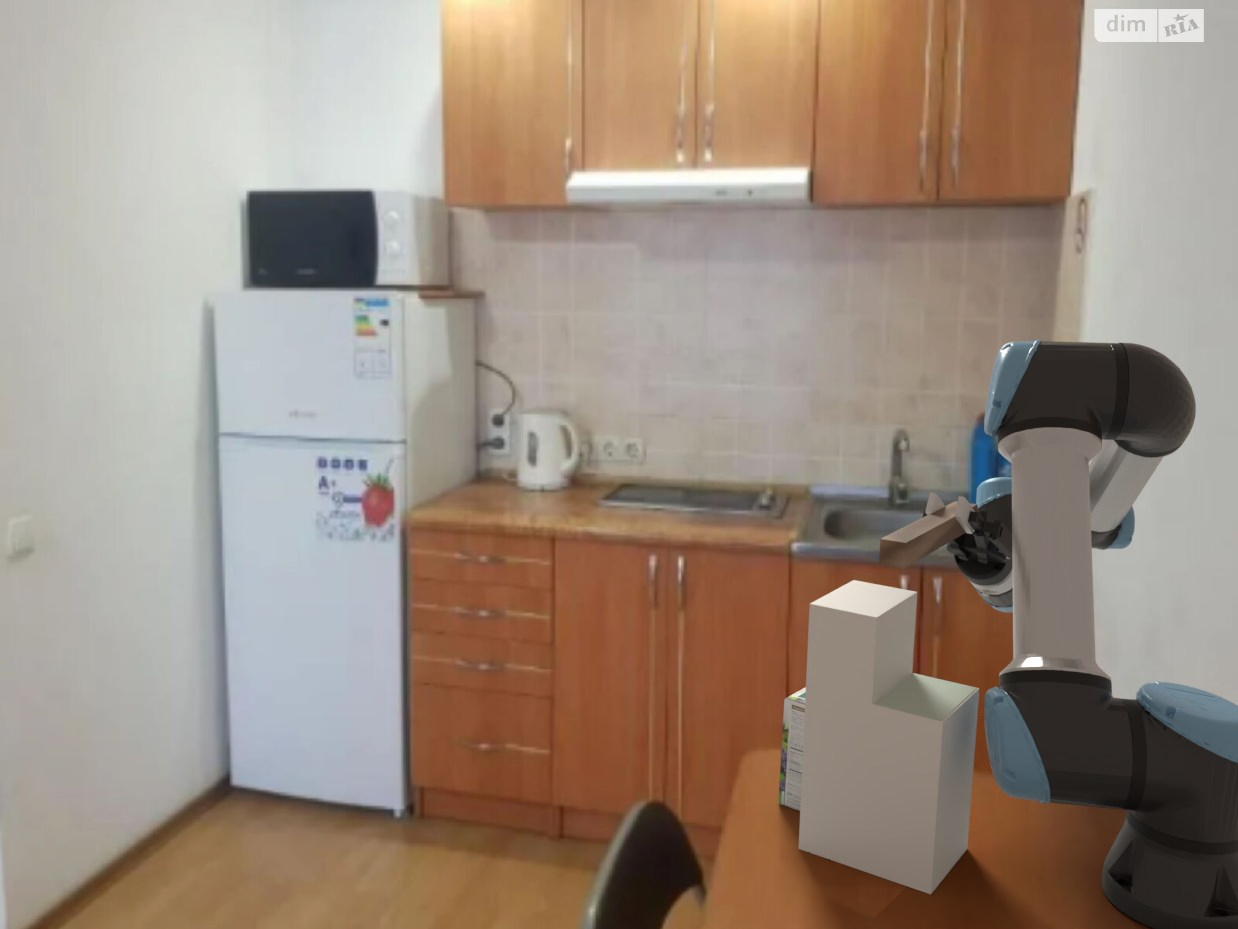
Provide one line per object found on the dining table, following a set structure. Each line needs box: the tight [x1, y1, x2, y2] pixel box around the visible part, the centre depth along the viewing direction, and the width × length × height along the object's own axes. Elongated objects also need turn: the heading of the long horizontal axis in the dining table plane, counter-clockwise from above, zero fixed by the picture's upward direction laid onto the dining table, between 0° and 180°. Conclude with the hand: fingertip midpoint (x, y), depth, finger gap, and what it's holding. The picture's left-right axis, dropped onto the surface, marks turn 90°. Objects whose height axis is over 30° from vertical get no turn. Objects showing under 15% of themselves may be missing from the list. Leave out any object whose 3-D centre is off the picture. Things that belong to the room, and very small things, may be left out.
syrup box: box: [778, 686, 806, 812], centre depth 141 cm, size 6×6×14 cm
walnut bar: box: [878, 500, 978, 570], centre depth 137 cm, size 3×26×3 cm, turn 145°
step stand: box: [798, 579, 980, 895], centre depth 129 cm, size 16×12×30 cm
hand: (945, 504), depth 140 cm, fingers closed on walnut bar, 3 cm apart
